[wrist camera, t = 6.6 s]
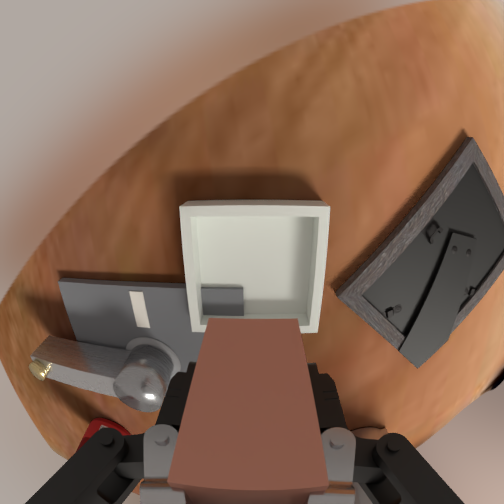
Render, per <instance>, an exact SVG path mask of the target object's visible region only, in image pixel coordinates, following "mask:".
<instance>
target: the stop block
mask: <svg viewBox="0 0 504 504" xmlns="http://www.w3.org/2000/svg"><path fill="white" fill-rule="evenodd" d="M167 482H168V484H169V485H170V487H175V488H182V489H184V490H185V492H186V493H187V495H188V496H189V498H190V499H191V501H192V502H193V504H304V502H305V500H306V499H307V497H308V495H309V493H310V492H314V491H324V490H326V489H327V488H328V486H329V481H328V475H327V469H326V463H325V457H324V451H323V445H322V439H321V434H320V428H319V423H318V417H317V412H316V406H315V401H314V396H313V391H312V386H311V380H310V375H309V370H308V366H307V361H306V356H305V351H304V346H303V341H302V337H301V332H300V327H299V323H298V318H294V319H233V318H209V319H208V323H207V326H206V330H205V334H204V337H203V341H202V345H201V348H200V352H199V356H198V359H197V363H196V367H195V371H194V374H193V378H192V382H191V386H190V390H189V394H188V397H187V401H186V405H185V409H184V413H183V417H182V421H181V425H180V429H179V433H178V437H177V441H176V445H175V450H174V454H173V458H172V462H171V466H170V471H169V475H168V479H167Z"/></svg>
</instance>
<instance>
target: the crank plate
mask: <svg viewBox="0 0 504 504" xmlns="http://www.w3.org/2000/svg"><path fill="white" fill-rule="evenodd" d="M58 284H59V287H60V291H61V294H62V298H63V301H64V304H65V308H66V311H67V314H68V317H69V320H70V323H71V325H72V328H73V331H74V334H75V336H76V339H77V342H82V343H87V344H93V345H99V346H104V347H111V348H117V349H124V350H132V349H133V348H134V347H135V346H137V345H141V344H147V345H152V346H155V347H157V348H159V349H161V350H162V351H164V352H165V353H166V354H167V355H168V356H169V357H170V358H171V360H172V362H173V366H174V370H173V373H172V376H171V378H172V377H173V376H174V375H175V374H176V373H177V372H186V371H187V368H188V364H189V362H190V361H193V362H197V359H198V356H199V352H200V348H201V345H202V341H203V337H204V334H205V332H192V327H191V320H190V312H189V304H188V296H187V288H186V283H156V282H131V281H110V280H92V279H76V278H62V279H60V280H59V281H58ZM201 298H202V308H203V315H216V316H244V291H243V287H201ZM170 380H171V379H170ZM169 383H170V381H169ZM168 386H169V384H168ZM167 390H168V387H167ZM167 390H166V392H167ZM165 395H166V393H165Z"/></svg>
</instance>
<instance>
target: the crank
mask: <svg viewBox="0 0 504 504" xmlns="http://www.w3.org/2000/svg"><path fill="white" fill-rule="evenodd" d="M31 358H32V360H33V361H32V363H31V364H30V365H29V369H30V371H31V372H32V374H33V375H34V376H35V377H36V378H38V379H39V380H42V381H43V380H44V379H45V378H46V377H47V378H50V379H53V380H56V381H59V382H62V383H65V384H69V385H72V386H75V387H79V388H82V389H86V390H90V391H93V392H97V393H101V394H105V395H110V396H114V397H118V398H119V399H120V400H121V401H122V402H123V403H125V404H126V405H128V406H129V407H131V408H133V409H136V410H139V411H143V412H154V411H157V410H158V409H160V407H161V405H162V402H163V399H164V396H165V393H166V390H167V387H168V384H169V381H170V379H171V376H172V373H173V370H174V366H173V362H172V360H171V358H170V357H169V356H168V355H167V354H166V353H165V352H164V351H162V350H161V349H159V348H157V347H155V346H152V345H147V344H141V345H137V346H135V347H134V348H133V349H132V350H124V349H117V348H111V347H104V346H99V345H93V344H87V343H82V342H77V341H72V340H68V339H63V338H58V337H54V336H50V335H49V336H48V337H47V338H46V339H45V340H44V341H43V342H42V344H41V345H40V346H39V347H38V348H37V349H36V350H35V351H34V352H33V354H32V355H31Z"/></svg>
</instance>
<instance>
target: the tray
mask: <svg viewBox="0 0 504 504" xmlns="http://www.w3.org/2000/svg"><path fill="white" fill-rule="evenodd" d="M179 208H180V223H181V236H182V248H183V259H184V269H185V279H186V288H187V296H188V304H189V312H190V320H191V327H192V332H205V330H206V326H207V323H208V319H209V318H233V319H294V318H298V323H299V327H300V332H301V333H317V332H318V325H319V318H320V311H321V303H322V295H323V286H324V277H325V267H326V256H327V245H328V232H329V218H330V206H329V205H327V204H326V203H325V202H323V201H314V200H195V201H187V202H185V203H184V204H182V205H181V206H179ZM201 287H243V291H244V316H216V315H203V308H202V298H201Z"/></svg>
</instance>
